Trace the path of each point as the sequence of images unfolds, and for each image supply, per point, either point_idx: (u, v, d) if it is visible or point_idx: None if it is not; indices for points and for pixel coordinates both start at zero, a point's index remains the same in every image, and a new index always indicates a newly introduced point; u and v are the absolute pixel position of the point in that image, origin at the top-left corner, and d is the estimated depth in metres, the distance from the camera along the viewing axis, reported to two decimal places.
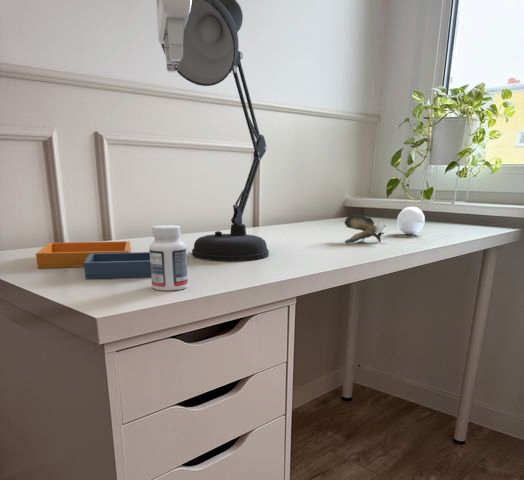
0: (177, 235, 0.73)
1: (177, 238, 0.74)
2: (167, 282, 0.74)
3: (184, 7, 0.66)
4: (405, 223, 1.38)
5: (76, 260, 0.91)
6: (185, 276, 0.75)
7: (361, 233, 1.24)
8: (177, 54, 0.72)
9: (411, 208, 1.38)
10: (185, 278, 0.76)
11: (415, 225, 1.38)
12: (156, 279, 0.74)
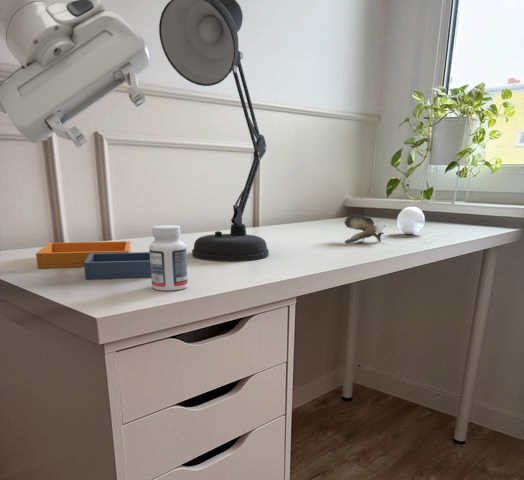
0: (177, 235, 0.73)
1: (177, 238, 0.74)
2: (167, 282, 0.74)
3: None
4: (405, 223, 1.38)
5: (76, 260, 0.91)
6: (185, 276, 0.75)
7: (361, 233, 1.24)
8: None
9: (411, 208, 1.38)
10: (185, 278, 0.76)
11: (415, 225, 1.38)
12: (156, 279, 0.74)
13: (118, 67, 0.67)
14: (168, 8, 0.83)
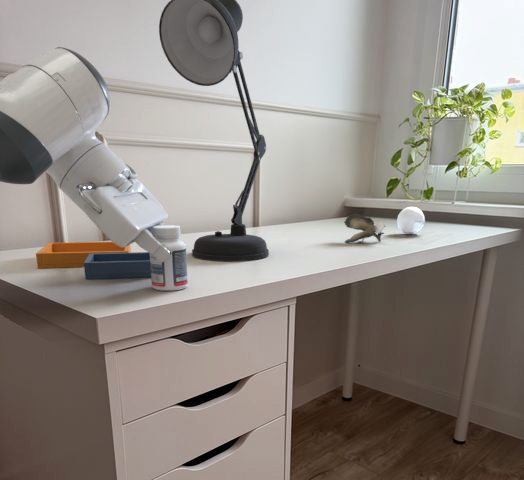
0: (177, 235, 0.73)
1: (177, 238, 0.74)
2: (167, 282, 0.74)
3: None
4: (405, 223, 1.38)
5: (76, 260, 0.91)
6: (185, 276, 0.75)
7: (361, 233, 1.24)
8: None
9: (411, 208, 1.38)
10: (185, 278, 0.76)
11: (415, 225, 1.38)
12: (156, 279, 0.74)
13: (162, 220, 0.79)
14: (168, 8, 0.83)
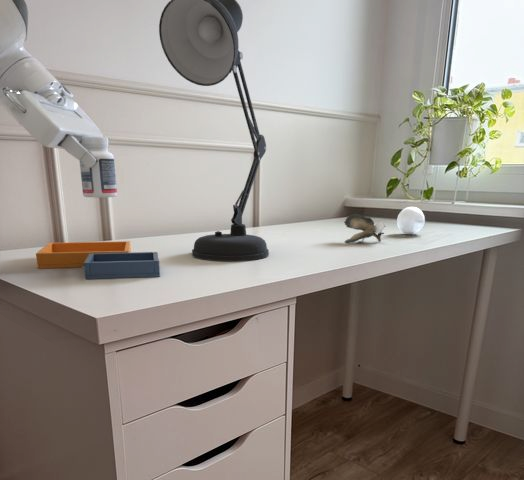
0: (104, 145, 0.80)
1: (104, 148, 0.80)
2: (95, 189, 0.80)
3: None
4: (405, 223, 1.38)
5: (76, 260, 0.91)
6: (113, 185, 0.82)
7: (361, 233, 1.24)
8: None
9: (411, 208, 1.38)
10: (114, 187, 0.82)
11: (415, 225, 1.38)
12: (86, 186, 0.81)
13: None
14: (168, 8, 0.83)
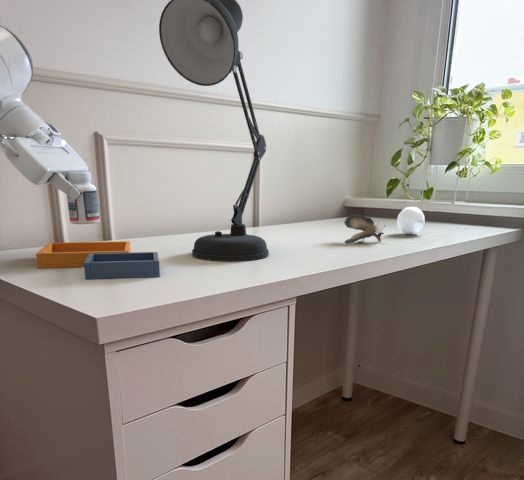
0: (87, 179, 0.92)
1: (87, 181, 0.92)
2: (80, 217, 0.93)
3: None
4: (405, 223, 1.38)
5: (76, 260, 0.91)
6: (96, 213, 0.94)
7: (361, 233, 1.24)
8: None
9: (411, 208, 1.38)
10: (96, 215, 0.94)
11: (415, 225, 1.38)
12: (72, 214, 0.93)
13: (80, 170, 0.97)
14: (168, 8, 0.83)
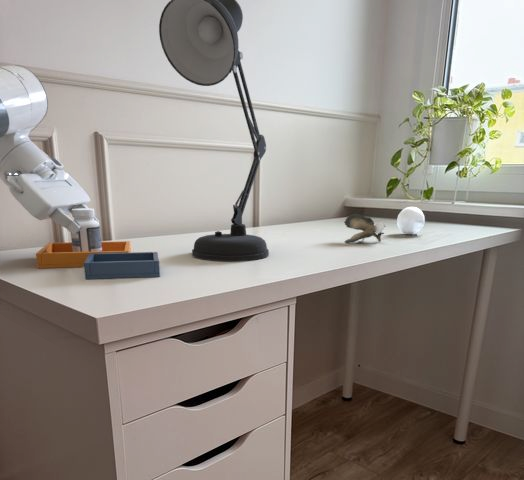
0: (91, 215, 0.94)
1: (91, 218, 0.95)
2: None
3: None
4: (405, 223, 1.38)
5: (76, 260, 0.91)
6: (99, 248, 0.96)
7: (361, 233, 1.24)
8: None
9: (411, 208, 1.38)
10: (99, 250, 0.97)
11: (415, 225, 1.38)
12: (75, 250, 0.95)
13: (82, 202, 0.99)
14: (168, 8, 0.83)
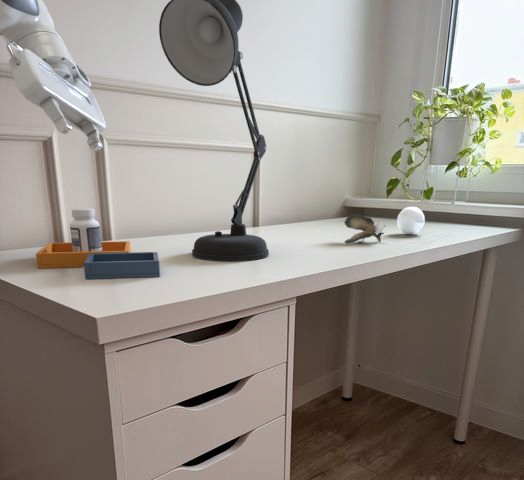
0: (91, 215, 0.94)
1: (91, 218, 0.95)
2: None
3: None
4: (405, 223, 1.38)
5: (76, 260, 0.91)
6: (99, 248, 0.96)
7: (361, 233, 1.24)
8: None
9: (411, 208, 1.38)
10: (99, 250, 0.97)
11: (415, 225, 1.38)
12: (75, 250, 0.95)
13: (92, 121, 0.91)
14: (168, 8, 0.83)
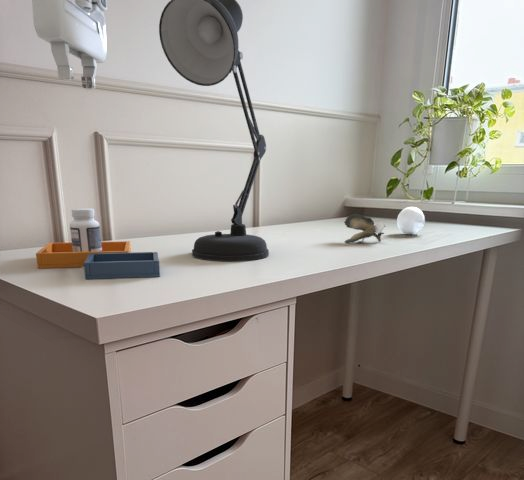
0: (91, 215, 0.94)
1: (91, 218, 0.95)
2: None
3: None
4: (405, 223, 1.38)
5: (76, 260, 0.91)
6: (99, 248, 0.96)
7: (361, 233, 1.24)
8: None
9: (411, 208, 1.38)
10: (99, 250, 0.97)
11: (415, 225, 1.38)
12: (75, 250, 0.95)
13: (95, 57, 0.85)
14: (168, 8, 0.83)
